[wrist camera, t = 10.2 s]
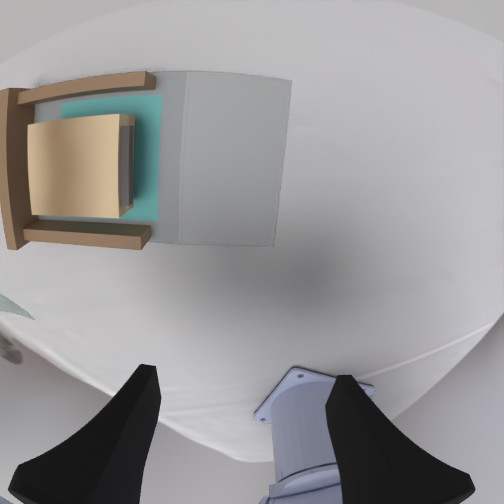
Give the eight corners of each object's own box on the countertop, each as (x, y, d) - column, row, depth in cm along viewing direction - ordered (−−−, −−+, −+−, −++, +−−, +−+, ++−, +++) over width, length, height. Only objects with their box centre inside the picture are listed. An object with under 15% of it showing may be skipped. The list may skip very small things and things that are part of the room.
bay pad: (163, 94, 15) (162, 94, 15) (158, 220, 18) (158, 221, 18) (63, 103, 14) (62, 103, 14) (64, 216, 17) (64, 216, 17)
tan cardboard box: (150, 115, 15) (129, 113, 12) (148, 201, 17) (128, 218, 14) (59, 122, 15) (27, 124, 12) (61, 199, 17) (31, 214, 14)
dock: (289, 82, 16) (304, 68, 12) (272, 241, 20) (279, 273, 16) (39, 92, 15) (-1, 91, 11) (42, 226, 19) (7, 249, 15)
